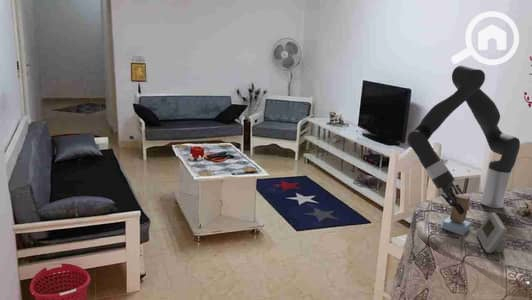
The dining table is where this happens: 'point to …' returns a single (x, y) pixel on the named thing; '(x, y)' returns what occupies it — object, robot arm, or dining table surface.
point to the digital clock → (492, 234)
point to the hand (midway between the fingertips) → (464, 211)
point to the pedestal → (456, 226)
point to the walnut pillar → (464, 203)
